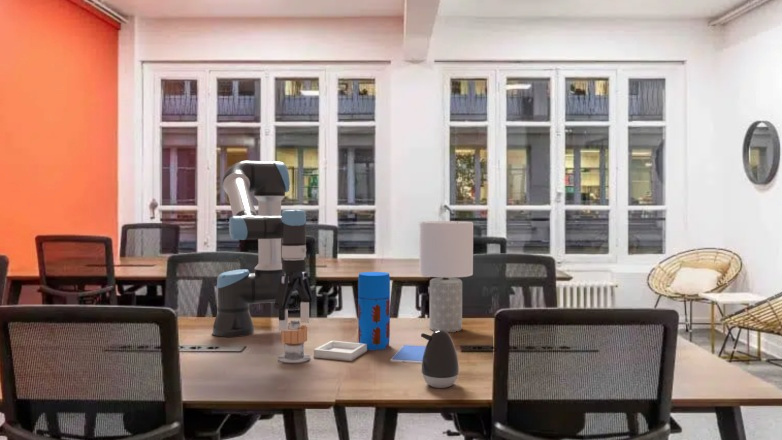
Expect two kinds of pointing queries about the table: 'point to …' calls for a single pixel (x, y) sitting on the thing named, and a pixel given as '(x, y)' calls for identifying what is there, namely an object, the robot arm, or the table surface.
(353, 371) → the table surface
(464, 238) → the lamp
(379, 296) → the thermos
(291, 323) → the grey stepped cylinder
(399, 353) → the tablet computer
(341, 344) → the tray
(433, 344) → the pump dispenser
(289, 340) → the ring
